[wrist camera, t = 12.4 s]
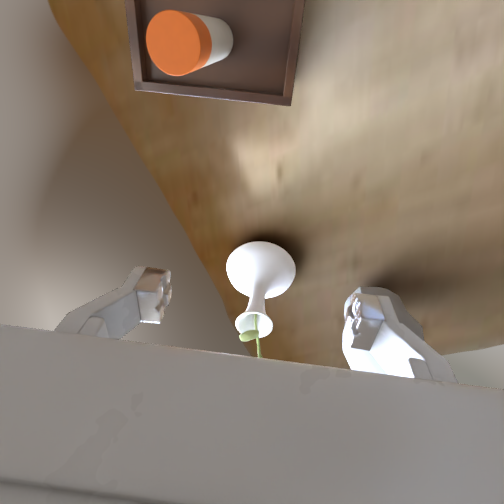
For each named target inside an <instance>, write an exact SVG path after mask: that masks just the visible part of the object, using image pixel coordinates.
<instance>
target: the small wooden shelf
mask: <svg viewBox="0 0 504 504" xmlns="http://www.w3.org/2000/svg"><path fill="white" fill-rule="evenodd" d="M304 6H305V0H125V8H126V16H127V25H128V34H129V43H130V51H131V60H132V69H133V77H134V86H135V90H138V91H148V92H157V93H167V94H177V95H186V96H196V97H205V98H215V99H225V100H234V101H244V102H254V103H263V104H273V105H282V106H291V101H292V94H293V87H294V79H295V72H296V65H297V57H298V50H299V43H300V35H301V28H302V21H303V13H304ZM164 10H177V11H182V12H187V13H193V14H198V15H203V16H209V17H214V18H219V19H221V20H223V21H224V22H226V23H227V24H228V26H229V27H230V29H231V31H232V35H233V46H232V50H231V52H230V53H229V55H228V56H227V57H226V58H224V59H222V60H220V61H217V62H215V63H212V64H210V65H208V66H205V67H203V68H200V69H198V70H195V71H193V72H190V73H188V74H185V75H182V76H173V75H169V74H167V73H165V72H163V71H162V70H160V69H159V68H158V67H157V66H156V65H155V63H154V62H153V60H152V59H151V57H150V55H149V52H148V49H147V44H146V33H147V28H148V25H149V23H150V21H151V19H152V18H153V17H154V16H155V15H156V14H157V13H159V12H161V11H164Z"/></svg>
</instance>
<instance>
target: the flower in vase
mask: <svg viewBox="0 0 504 504" xmlns="http://www.w3.org/2000/svg"><path fill="white" fill-rule="evenodd" d="M295 271H296V269H295V264H294V261H293V259H292V258H291V256H290V255H289V254H288V253H287V252H286V251H285V250H284V249H282V248H281V247H279V246H277V245H275V244H272V243H269V242H262V241H257V242H250V243H246V244H244V245H242V246H240V247H238V248H237V249H235V250H234V251H233V252H232V254H231V255H230V257H229V259H228V261H227V273H228V277H229V279H230V281H231V283H232V284H233V286H234V287H235V288H236V289H237V290H239V291H240V292H242V293H243V294H245V295H248V296H250V300H249V304H248V307H247V309H246V311H245V312H244V313H243V314H241V315H240V316H239V317H238V318H237V320H236V327H237V329H238V331H239V332H240V333H242V334H241V335H239V338H240V339H241V341H249V340H252V339H254V338H256V340H257V346H258V358H263V357H262V355H261V351H260V343H259V338H261V337H264V336H266V335H268V334H269V333H270V332H271V331H272V328H273V324H272V321H271V319H270V318H269V317H268V316H267V315H266V312H265V298H270V297H274V296H277V295H279V294H281V293H283V292H284V291H286V290H287V289H288V288H289V286H290V285H291V283H292V282H293V280H294V277H295Z"/></svg>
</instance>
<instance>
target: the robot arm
mask: <svg viewBox="0 0 504 504" xmlns="http://www.w3.org/2000/svg"><path fill="white" fill-rule="evenodd" d="M170 278H171V273H170V271H169V270H163V269H157V268H150V267H142V266H136V267H134V269H133V270H132V272H131V273H130V275H129V276H128V278H127V279H126V281H125V282H124V284H123V285H122V287H121V288H116V289H115V290H112V291H111V292H108V293H106V294H104V295H102V296H100V297H99V298H96V299H94V300H93V301H91V302H89V303H87V304H85V305H83V306H81V307H79V308H77V309H75V310H73V311H71V312H69V313H68V314H67V315H66V316H65V317H64V319H63V320H62V321H61V323H60V324H59V325H58V326H57V328H56V329H55V330H54V331H49V330H42V329H33V328H26V327H19V326H11V325H3V324H0V504H504V389H497V388H489V387H481V386H473V385H466V384H459V383H458V381H457V379H456V377H455V375H454V373H453V371H452V368H451V367H450V364H449V362H448V361H447V360H446V359H444V358H443V357H442V356H441V355H440V354H439V353H437V352H436V351H435V350H434V349H433V348H431V347H430V346H429V345H428V344H427V343H425V342H424V341H423V340H422V339H421V338H419V337H418V336H417V335H416V334H415V333H413V332H412V331H411V330H410V329H409V328H407V327H406V326H405V325H404V324H402V323H399V321H398V318H397V316H396V313H395V310H394V308H393V305H392V303H391V300H390V298H389V297H388V296H380V295H369V294H360V293H353V294H352V295H351V298H350V302H351V305H350V306H348V307H347V310H346V315H345V324H346V328H347V329H348V330H349V333H348V340H349V345H350V348H354V349H361V350H367V351H370V353H371V354H372V355H373V357H374V358H375V359H376V360H377V361H378V363H379V364H380V365H381V366H382V368H383V369H384V370H385V371H386V373H387V374H381V373H373V372H365V371H357V370H349V369H342V368H334V367H327V366H319V365H311V364H304V363H296V362H288V361H281V360H273V359H265V358H257V357H250V356H241V355H233V354H226V353H218V352H210V351H202V350H195V349H188V348H180V347H172V346H165V345H157V344H149V343H141V342H133V341H126V340H119V339H121V338H122V337H123V336H124V335H125V334H127V333H128V332H130V331H131V330H132V329H134V328H135V327H136V326H137V325H139V324H140V323H141V322H149V323H159V324H160V323H161V321H162V318H163V316H164V314H165V307H167V306H168V305H169V302H170V300H171V295H172V286H171V284H170V283H169V281H170Z"/></svg>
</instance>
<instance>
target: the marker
mask: <svg viewBox="0 0 504 504" xmlns="http://www.w3.org/2000/svg"><path fill="white" fill-rule="evenodd" d="M146 44H147V49H148V52H149V55H150V57H151V59H152V60H153V62H154V63H155V65H156V66H157V67H158V68H159V69H160V70H162V71H163V72H165V73H167V74H169V75H173V76H182V75H185V74H188V73H190V72H193V71H195V70H198V69H200V68H203V67H205V66H208V65H210V64H212V63H215V62H217V61H220V60H222V59H224V58H226V57H227V56H228V55H229V53H230V52H231V50H232V46H233V35H232V31H231V29H230V27H229V26H228V24H227V23H226V22H224V21H223V20H221V19H219V18H214V17H209V16H203V15H198V14H193V13H187V12H182V11H177V10H164V11H161V12H159V13H157V14H156V15H155V16H154V17H153V18H152V19H151V21H150V23H149V25H148V28H147V33H146Z"/></svg>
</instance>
